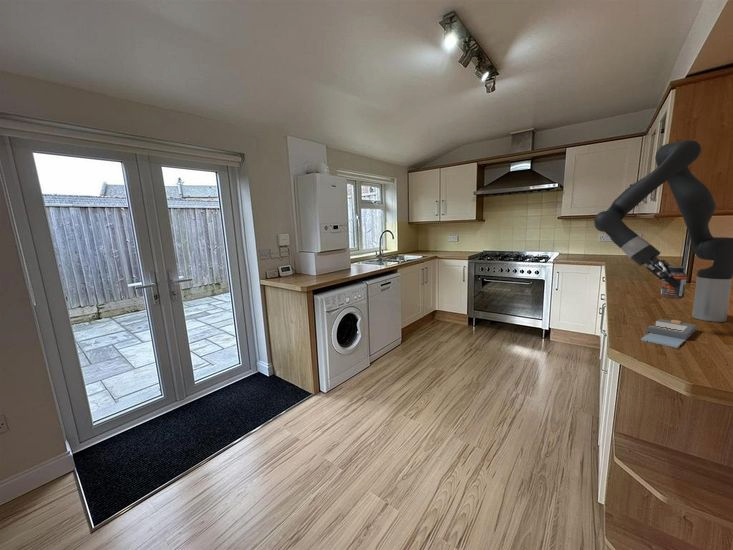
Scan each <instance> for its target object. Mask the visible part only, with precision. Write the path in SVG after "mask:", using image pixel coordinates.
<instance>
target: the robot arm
mask: <svg viewBox="0 0 733 550" xmlns="http://www.w3.org/2000/svg"><path fill="white" fill-rule="evenodd" d="M701 152H702V146H701V144H700V143H699V142H698V141H695V140H691V139H690V140H689V139H688V140H681V141H680V140H678V141H675V142H668V143H666V144H663V145H662V146H660V147H659V148H658V150H657V151H656V153H655V163H656V165H657V167H656V168H655V169H653V170H652V171H651V172H650V173H648V174H647V175H645V176H644V177H642V178H641V179H638V180H637V181H636V182H634V183H633V184H631V185H629V187H627V188H626V189H625V190H624V191H623V192H621V194H620V195H618V196H617V198H615V199H614V200H613V202H612V203H611V205H610V207H609V208H608V209H606V210H604V211H600V212H599V213H597V214H596V215H595V216H594V220H593V221H594V227H595V229H596V230H597V231H600V232H601V233H602V232H603V233H605V234H606V235H607V236H608V237H609V238H610V239H611V241H612V242H613V243H614V244H615V245H616V246H618V248H620V249H621V251H623V253H624V254H625V255H627V256H628V257H629V258H630V259H631V260H632V261H633V262H634V263H636V265H638V266H640V267H641V266H644V265H647V266H646V267H645V268H646V269H647V270H648V271H649V272H651V274H653V275H654V276H656V277H657V278H658V279H659V280H662V281H663V280H665V281H666V282H667V283H669V284H670V285H671V286H672V287H673V288H676V287H678V286H680V285H681V283H679V282H678V281H677V280H676V279H675V278H674V277H671V274H669V273H668V266H671V265H670V264H669V263H668V262H667V261H666V260H665V259H659V258H658V257H659V256H660V255H661V251H659V250H658V248H656V247H654V245H652V244H651V243H649V241H647V240H646V239H644V238H643V237H641V236H640V235H638V234H637V233H636V232H635V231H634V230H632V229H631V227H629V226H628V225H626V223H625V222H624V221H623V219H624V218H625V217H626V216H627V215H628V214H629V213H630V212H631V211H633V210H634V208H635V209H636V207H637V206H638V205H639V204H640V203H642V201H644V199H646V198H647V197H648V196H649V195H650V194H652V193H653V192H654V191H655V190H657V189H658V188H659V187H660V186H662V185H663V184H664V183H666V182H667V184H668V186H669V189H670V190H671V193H672V195H673V197H674V199H675V202H676V205H677V208H678V211H679V212H680V215H681V216H682V219H683V221H684V223H685V226H686V229H687V231H688V236H689V238H690V242H691V246H692V250H693V253H694V255H695V256H696V257H697V258H699V259H701V260H707V261H713V263H712V265H711V266H708V267H704V268H701V269H698V270H697V273H696V283H695V291H694V297H693V303H692V304H693V305H692V312H691V317H692V318H694V319H696V320H700V321H707V322H715V323H716V322H717V323H720V322H721V323H722V322H727V317H728V310H729V305H730V304H729V303H730V296H731V289H732V284H733V283H732V282H733V237H728V236H727V237H723V236H721V237H720V236H719V237H718V236H717V237H716V236H713V235H712V233H711V231H710V227H709V225H710V224H709V223H710V222H711V219H712V218H713V215H714V213H715V211H716V209H717V208H716V207H717V205H716V202H715V200H714V197H713V194H712V192H711V191H710V189H709V188H708V187H707V186H706V184H704V183H703V182H702V181H701V180H700V179H699V178H697V177H696V176H695V175H694V174H693V173H692V172H691V170H690V168H689V166H690V165H691V164H692V163H694V162H695V161H696V160H697V159H698V158H699V157H700V155H701Z"/></svg>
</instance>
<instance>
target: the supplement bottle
mask: <svg viewBox="0 0 733 550" xmlns="http://www.w3.org/2000/svg"><path fill="white" fill-rule="evenodd" d="M684 271H685V266H681V265H680V266H677V265H670V266H668V273H669V274H671V277H674V278H675V279H676V280H677V281H678V282H679V283H681V285H680V286H678V287H676V288H673V287H672V286H671V285H670V284H669V283H667V282H666V281H665V280H662V282H661V289H660V296H661V297H663V298H666V299H672V300H682V299H684V298H685V294H686V293H685V291H686V285H687V279H688V278H687V277H688V275H687V273H686V272H684Z"/></svg>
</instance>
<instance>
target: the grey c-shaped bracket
mask: <svg viewBox="0 0 733 550" xmlns="http://www.w3.org/2000/svg"><path fill="white" fill-rule="evenodd" d="M655 326H660V327H667V328H671V329H677V330H682V331H677V330H671V329H666V328H660V327H655ZM655 326H654V325H648V326H647V327H646V333H647V332H651V333H655V334H659V335H663V336H668V337H673V338H678V339H683V340H685V341H687V340H688V339H689V338H690V337H691V336H692V335H693V334H694V333H695V332H696V331H697V324H694V323H693V324H692V323H689V322H688V323H687V322H682V321H681V320H677V319H672V320H669V319H661V318H659V319H658V320H656V321H655ZM695 330H696V331H695ZM694 331H695V332H694ZM693 332H694V333H693ZM692 333H693V334H692ZM691 334H692V335H691ZM686 339H687V340H686Z"/></svg>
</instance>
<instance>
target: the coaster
mask: <svg viewBox="0 0 733 550" xmlns="http://www.w3.org/2000/svg"><path fill="white" fill-rule="evenodd" d="M640 341H641V342H647V341H648V343H651V342H652V344H656V345H660V344H661V346H665V347H671V348H675V349H679V348H680V345H681V344H682V343H683V342H684V341H686V340H683V339H678V338H673V337H668V336H663V335H658V334H653V333H647V334H646V335H644V336H643V337H641V338H640ZM684 343H685V342H684ZM684 343H683V344H684ZM683 344H682V345H683ZM682 345H681V346H682Z"/></svg>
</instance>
